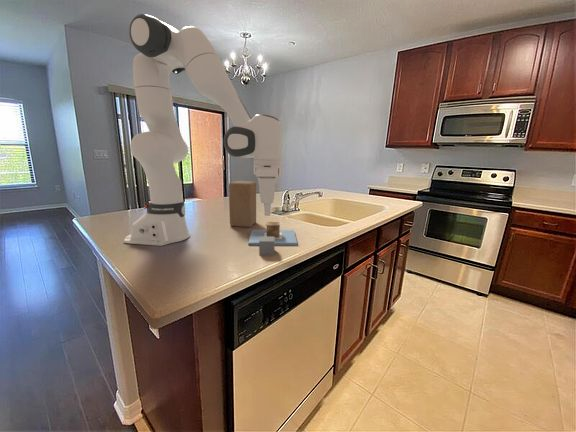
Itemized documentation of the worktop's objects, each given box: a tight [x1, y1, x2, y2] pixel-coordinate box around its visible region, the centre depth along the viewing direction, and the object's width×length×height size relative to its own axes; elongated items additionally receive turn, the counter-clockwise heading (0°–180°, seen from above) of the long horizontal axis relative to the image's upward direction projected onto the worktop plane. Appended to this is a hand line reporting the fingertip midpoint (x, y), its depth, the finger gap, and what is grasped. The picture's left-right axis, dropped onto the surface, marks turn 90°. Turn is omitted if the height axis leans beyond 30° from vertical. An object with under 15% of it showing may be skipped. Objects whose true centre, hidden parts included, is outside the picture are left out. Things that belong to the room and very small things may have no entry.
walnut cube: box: [266, 221, 281, 238], centre depth 100 cm, size 5×5×5 cm
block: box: [228, 180, 257, 228], centre depth 118 cm, size 10×10×20 cm
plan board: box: [247, 229, 298, 246], centre depth 101 cm, size 18×16×1 cm
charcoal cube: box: [258, 237, 275, 256], centre depth 86 cm, size 5×5×5 cm
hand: (267, 211), depth 83 cm, fingers open, 8 cm apart
